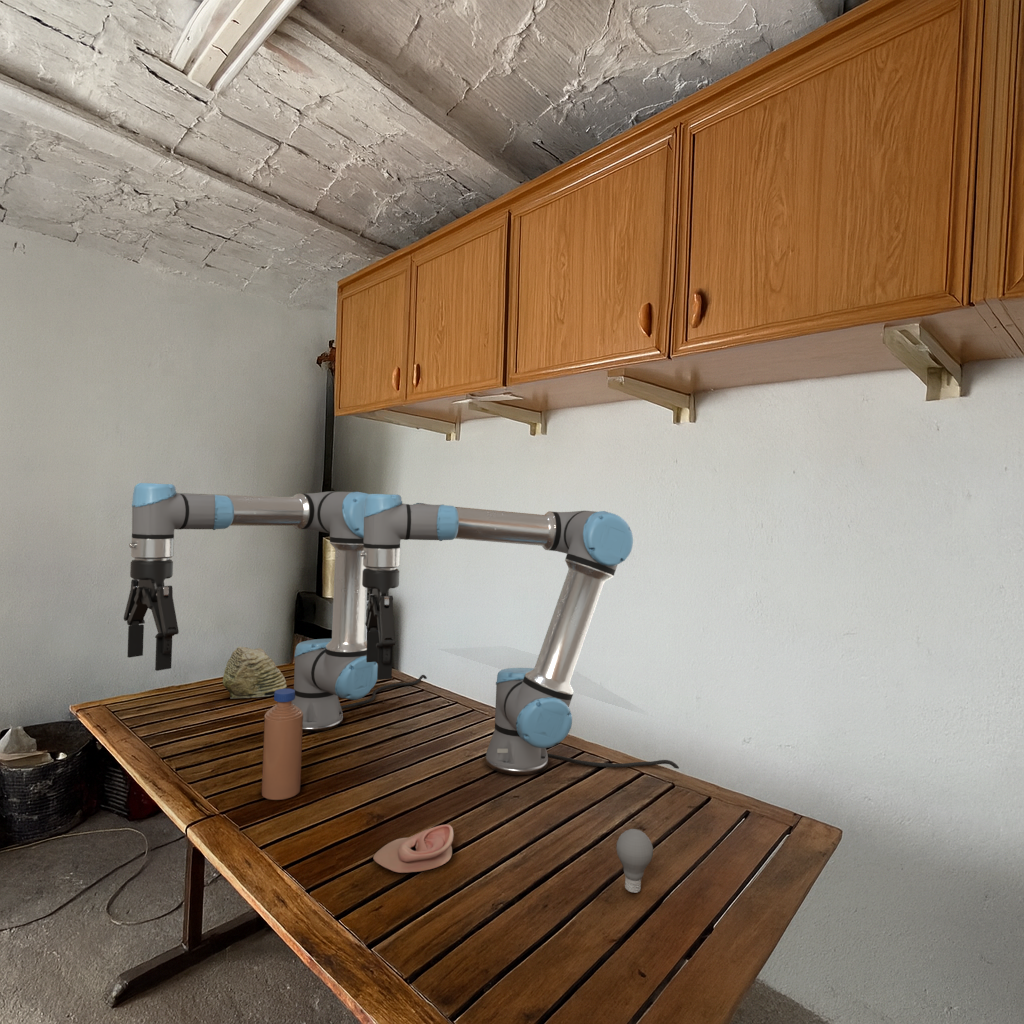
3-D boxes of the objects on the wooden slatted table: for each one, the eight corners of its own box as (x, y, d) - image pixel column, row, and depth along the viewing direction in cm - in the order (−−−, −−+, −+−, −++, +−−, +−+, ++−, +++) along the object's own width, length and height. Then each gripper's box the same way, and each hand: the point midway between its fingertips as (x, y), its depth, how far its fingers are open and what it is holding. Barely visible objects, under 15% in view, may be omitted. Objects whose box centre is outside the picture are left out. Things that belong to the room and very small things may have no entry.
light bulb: (610, 879, 108) (613, 822, 108) (644, 879, 109) (647, 822, 109) (619, 902, 102) (622, 840, 102) (655, 901, 103) (658, 840, 103)
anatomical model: (366, 844, 109) (392, 812, 120) (365, 867, 109) (391, 833, 120) (440, 856, 106) (459, 823, 117) (439, 880, 106) (458, 844, 117)
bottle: (284, 780, 141) (287, 685, 140) (308, 789, 137) (311, 692, 136) (253, 793, 134) (257, 693, 134) (277, 803, 130) (281, 701, 130)
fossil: (218, 695, 195) (220, 647, 195) (278, 685, 208) (279, 640, 207) (228, 703, 189) (230, 653, 188) (289, 692, 201) (290, 645, 201)
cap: (286, 694, 138) (286, 687, 138) (299, 698, 136) (299, 690, 136) (269, 699, 134) (270, 691, 134) (283, 703, 132) (283, 695, 132)
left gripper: (108, 554, 134) (104, 654, 134) (159, 565, 118) (155, 678, 119) (146, 552, 140) (143, 648, 140) (199, 563, 124) (195, 671, 124)
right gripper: (354, 561, 142) (351, 656, 142) (373, 575, 118) (370, 688, 119) (387, 561, 144) (385, 654, 145) (412, 575, 121) (409, 685, 122)
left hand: (148, 662), depth 129 cm, fingers open, 13 cm apart
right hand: (378, 669), depth 132 cm, fingers open, 13 cm apart
